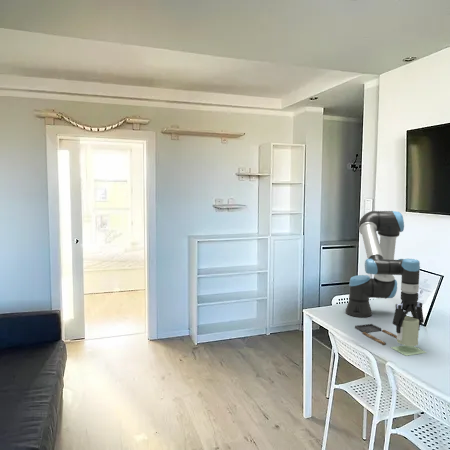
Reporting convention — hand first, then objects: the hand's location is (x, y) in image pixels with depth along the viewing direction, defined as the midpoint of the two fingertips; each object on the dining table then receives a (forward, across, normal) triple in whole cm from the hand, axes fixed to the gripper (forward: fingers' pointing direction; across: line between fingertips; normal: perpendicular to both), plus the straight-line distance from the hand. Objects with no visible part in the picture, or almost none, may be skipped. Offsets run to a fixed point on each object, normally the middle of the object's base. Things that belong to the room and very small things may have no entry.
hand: (407, 338), depth 189 cm
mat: (+6, 0, -1) cm, 6 cm away
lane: (+6, 0, +16) cm, 17 cm away
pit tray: (+6, 0, +29) cm, 29 cm away
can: (+2, 0, 0) cm, 2 cm away
